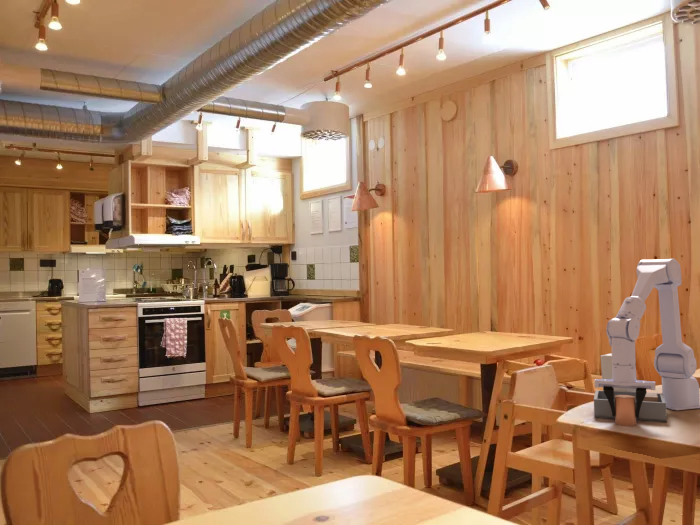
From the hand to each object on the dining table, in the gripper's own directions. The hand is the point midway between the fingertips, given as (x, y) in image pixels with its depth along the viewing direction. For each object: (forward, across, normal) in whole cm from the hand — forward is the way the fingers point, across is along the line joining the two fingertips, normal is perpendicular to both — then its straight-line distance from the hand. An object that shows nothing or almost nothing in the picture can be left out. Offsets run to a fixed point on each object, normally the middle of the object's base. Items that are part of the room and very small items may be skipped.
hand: (625, 416), depth 163 cm
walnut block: (+1, +6, +11) cm, 13 cm away
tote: (+2, +1, +11) cm, 12 cm away
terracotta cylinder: (+2, 0, 0) cm, 2 cm away
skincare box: (+2, -2, +25) cm, 25 cm away
